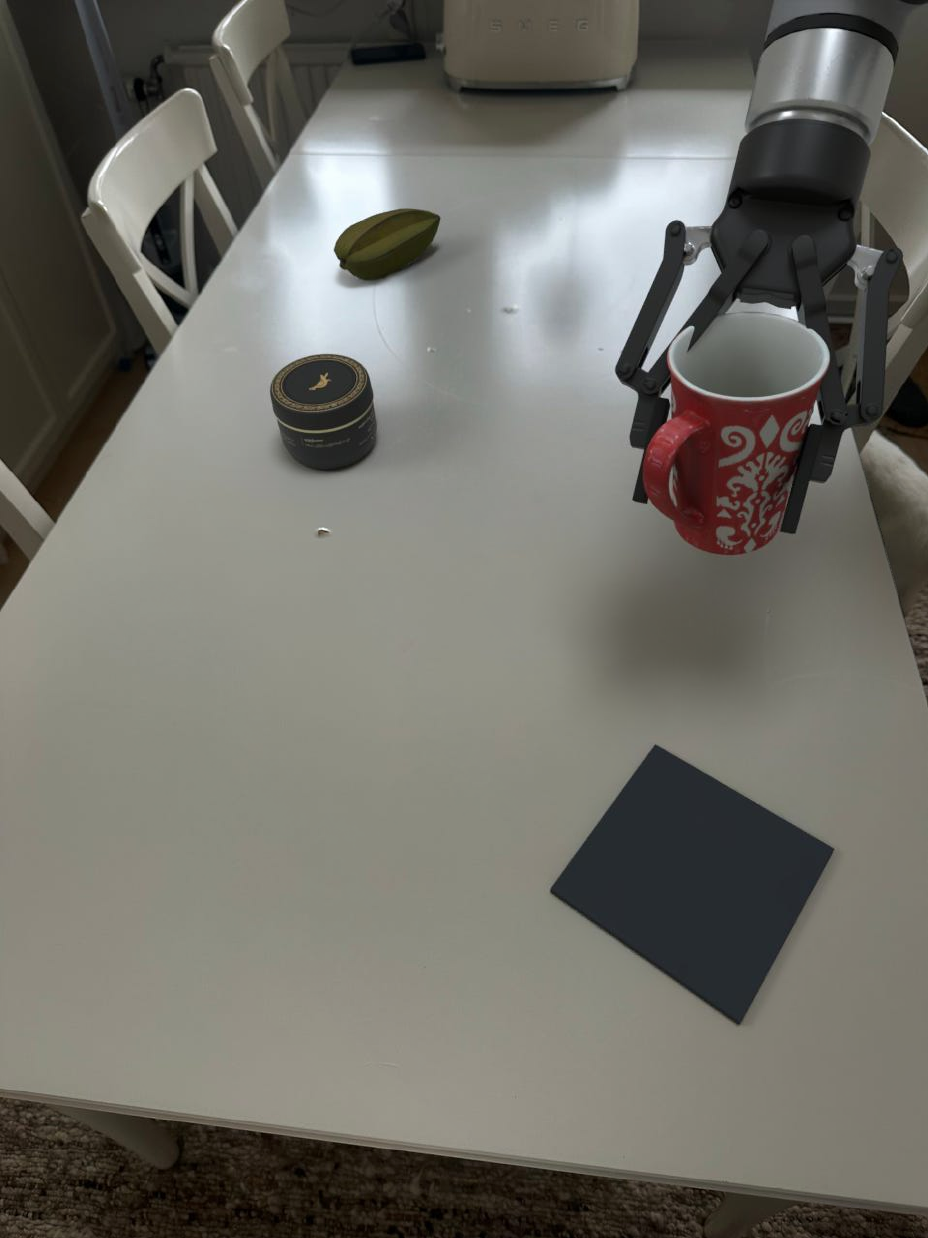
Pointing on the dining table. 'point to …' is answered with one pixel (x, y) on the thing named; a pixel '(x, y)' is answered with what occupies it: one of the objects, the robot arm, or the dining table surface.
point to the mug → (735, 428)
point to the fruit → (386, 242)
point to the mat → (695, 879)
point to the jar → (325, 410)
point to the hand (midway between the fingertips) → (712, 516)
